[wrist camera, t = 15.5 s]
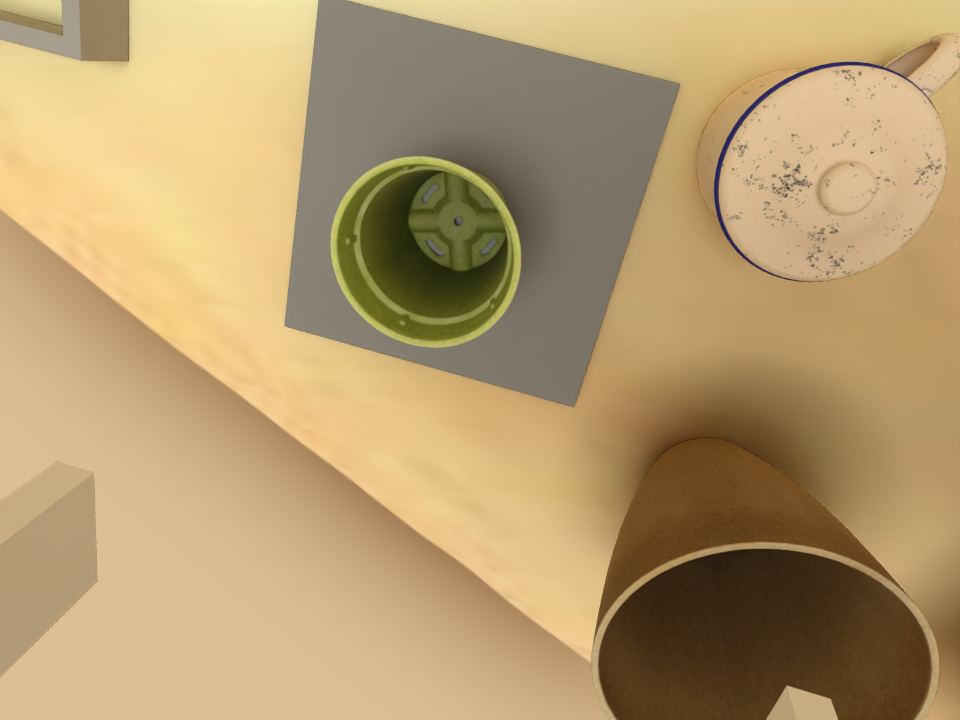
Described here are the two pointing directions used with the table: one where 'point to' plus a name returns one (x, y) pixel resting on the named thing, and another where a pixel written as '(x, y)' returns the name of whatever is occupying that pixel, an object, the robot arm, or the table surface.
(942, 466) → the table surface
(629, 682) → the plant pot
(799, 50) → the table surface
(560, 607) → the table surface
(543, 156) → the charcoal mat
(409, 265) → the plant pot
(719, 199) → the teacup with lid
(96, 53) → the rock display frame
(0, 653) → the robot arm
